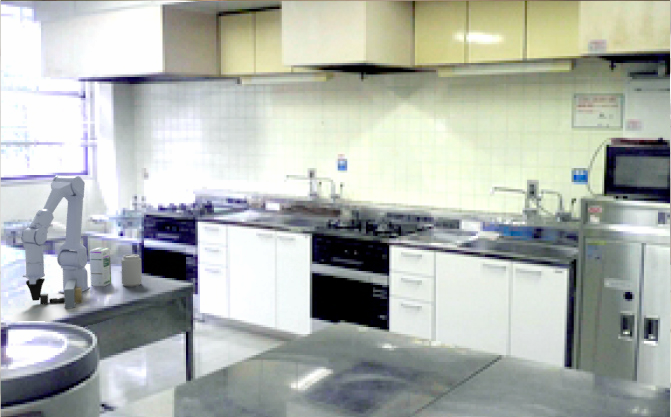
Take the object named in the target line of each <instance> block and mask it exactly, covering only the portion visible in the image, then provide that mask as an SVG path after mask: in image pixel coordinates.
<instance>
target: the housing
mask: <svg viewBox="0 0 671 417" xmlns="http://www.w3.org/2000/svg"><path fill="white" fill-rule="evenodd" d="M75 287H77V279H68V281H67V284H66V286H65V289H64V293H63V294H64V297H63V298H65V302H64V309H74V308H75V306H76V303H75Z"/></svg>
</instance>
